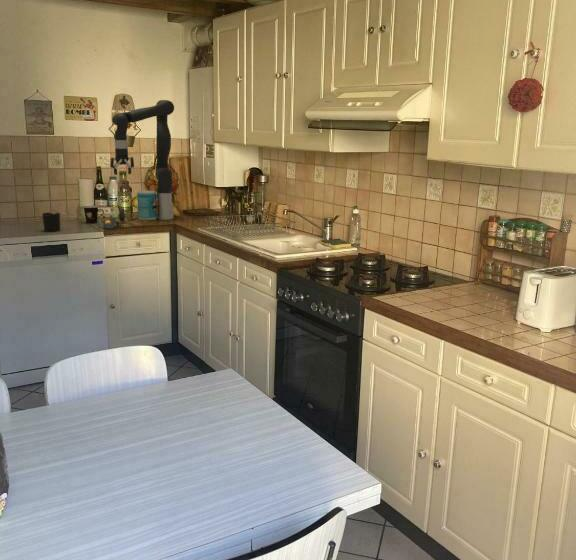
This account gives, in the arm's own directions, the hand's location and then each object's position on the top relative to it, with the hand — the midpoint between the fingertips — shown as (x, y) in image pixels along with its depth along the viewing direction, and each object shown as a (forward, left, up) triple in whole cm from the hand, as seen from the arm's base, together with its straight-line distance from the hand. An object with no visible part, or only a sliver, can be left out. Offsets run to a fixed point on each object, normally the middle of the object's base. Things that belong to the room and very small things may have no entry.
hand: (122, 174), depth 383 cm
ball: (+14, +10, -28) cm, 33 cm away
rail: (0, +10, -30) cm, 32 cm away
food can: (-18, -7, -30) cm, 36 cm away
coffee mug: (+17, -9, -30) cm, 36 cm away
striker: (+7, +10, -30) cm, 32 cm away
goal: (+16, +10, -30) cm, 36 cm away
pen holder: (+46, +6, -30) cm, 55 cm away
